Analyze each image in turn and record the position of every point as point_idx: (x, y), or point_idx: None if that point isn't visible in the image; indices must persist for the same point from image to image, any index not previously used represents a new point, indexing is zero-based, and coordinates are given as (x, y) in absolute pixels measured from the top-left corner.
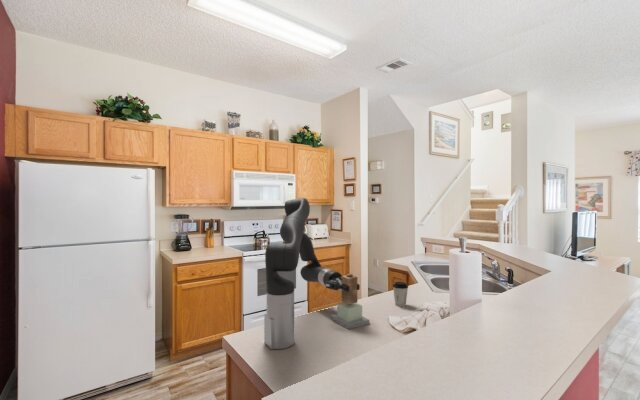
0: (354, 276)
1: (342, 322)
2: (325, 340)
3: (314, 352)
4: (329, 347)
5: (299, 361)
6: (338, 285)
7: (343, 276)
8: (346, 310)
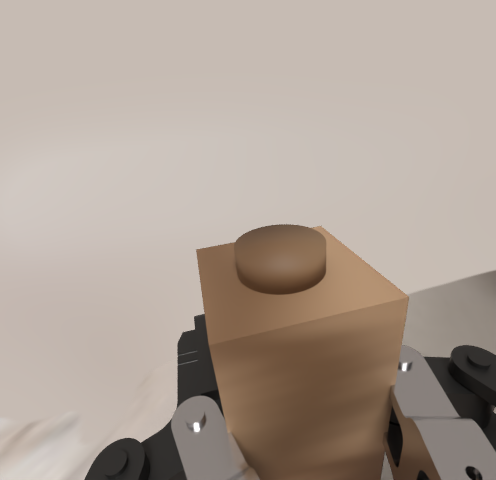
0: (213, 266)
1: None
2: (439, 349)
3: (459, 298)
4: (415, 311)
5: (489, 275)
6: (440, 359)
7: (376, 277)
8: None
